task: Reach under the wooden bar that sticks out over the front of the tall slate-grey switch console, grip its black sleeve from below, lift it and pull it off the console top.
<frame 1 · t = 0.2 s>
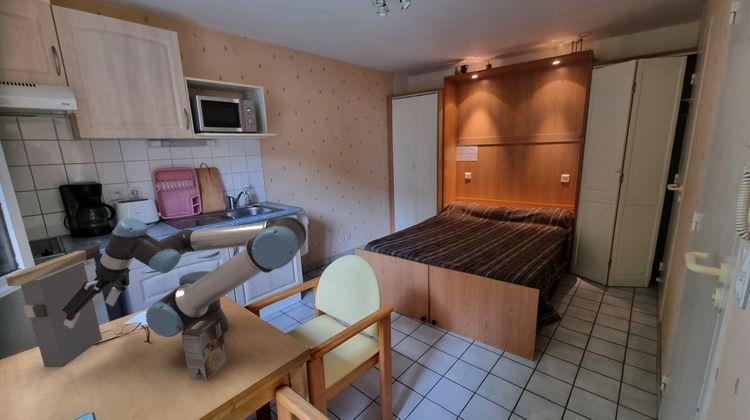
hand: (90, 314, 99), 15 cm above the table, tool tilted 35°, fingers open, 13 cm apart
coffee box: (209, 370, 95), on the table, touching arm
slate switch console: (75, 352, 104), on the table
wooden bar: (59, 267, 100), point 30 cm above the table, touching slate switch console
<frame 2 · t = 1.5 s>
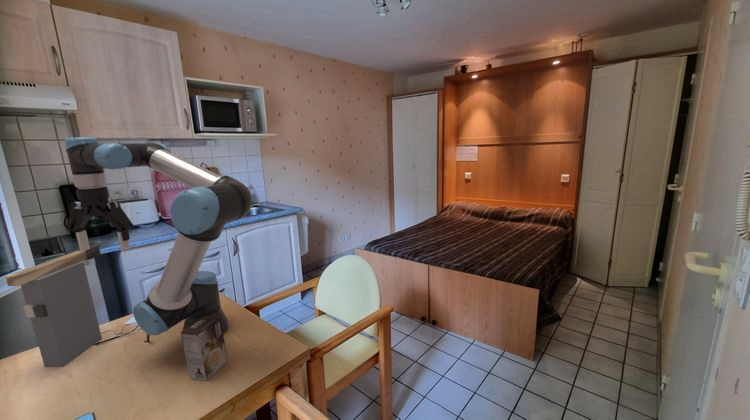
hand: (105, 250, 102), 35 cm above the table, tool pointing down, fingers open, 13 cm apart
coffee box: (209, 370, 95), on the table
everything else where it was.
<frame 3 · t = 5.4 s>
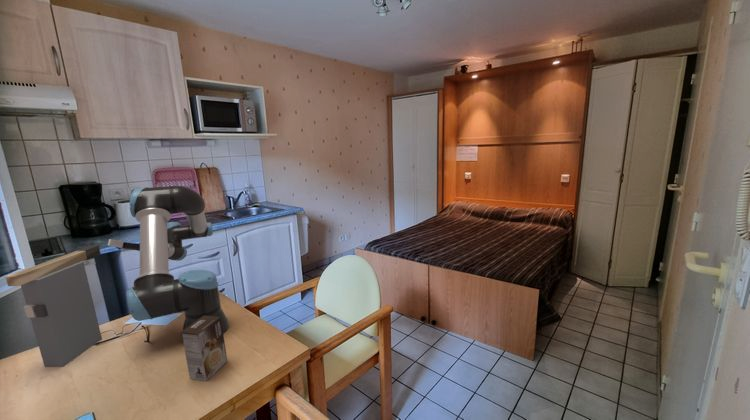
hand: (125, 241, 125), 30 cm above the table, tool pointing upward, fingers open, 13 cm apart
nothing on the table moved.
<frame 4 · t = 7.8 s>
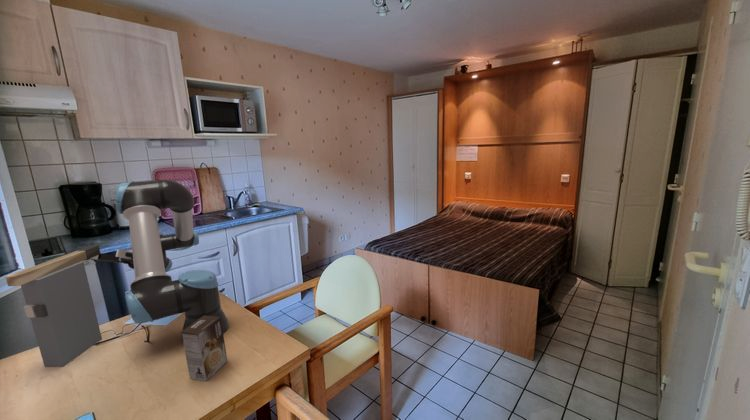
hand: (99, 253, 114), 30 cm above the table, tool pointing upward, fingers open, 13 cm apart
nothing on the table moved.
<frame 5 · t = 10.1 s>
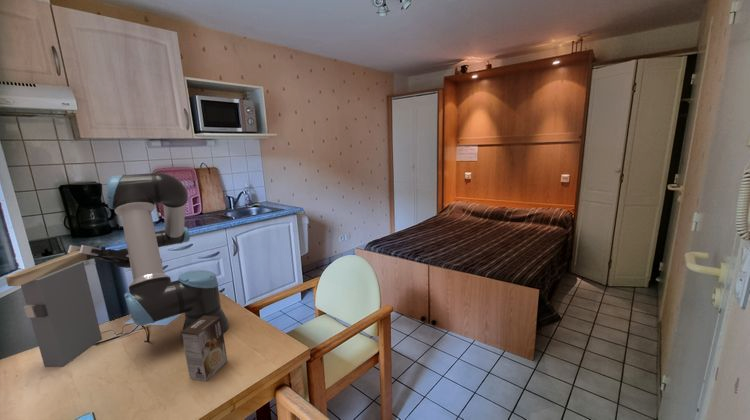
hand: (75, 249, 105), 34 cm above the table, tool pointing upward, fingers closed on wooden bar, 3 cm apart
wooden bar: (59, 267, 100), point 30 cm above the table, touching gripper, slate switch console
everything else where it was.
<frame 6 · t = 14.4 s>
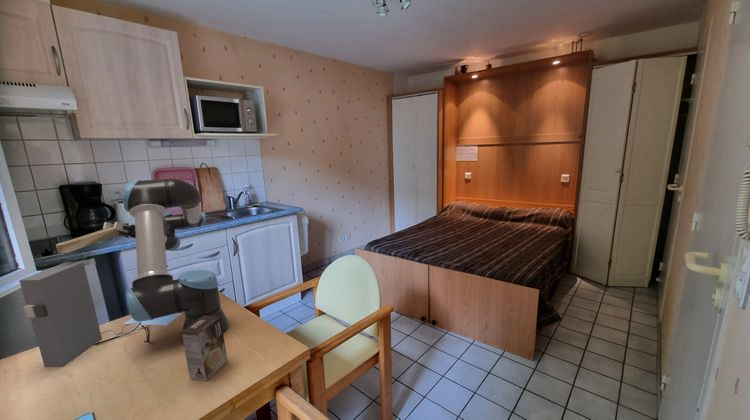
hand: (109, 225, 119), 39 cm above the table, tool pointing upward, fingers closed on wooden bar, 3 cm apart
wooden bar: (97, 240, 113), point 34 cm above the table, touching gripper
everything else where it was.
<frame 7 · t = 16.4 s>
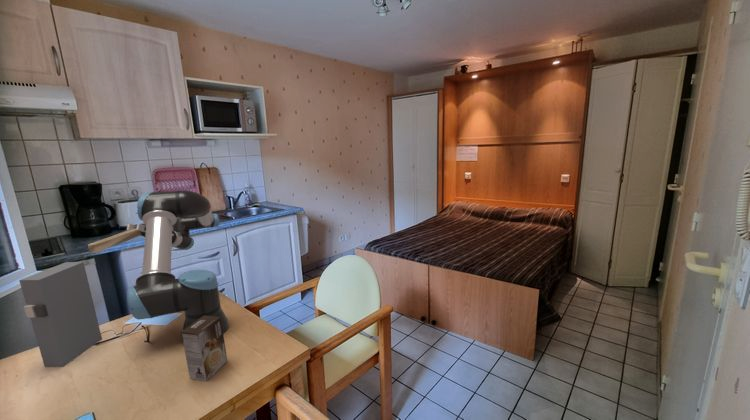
hand: (133, 226, 129), 35 cm above the table, tool pointing upward, fingers closed on wooden bar, 3 cm apart
wooden bar: (122, 240, 124), point 31 cm above the table, touching gripper
everything else where it was.
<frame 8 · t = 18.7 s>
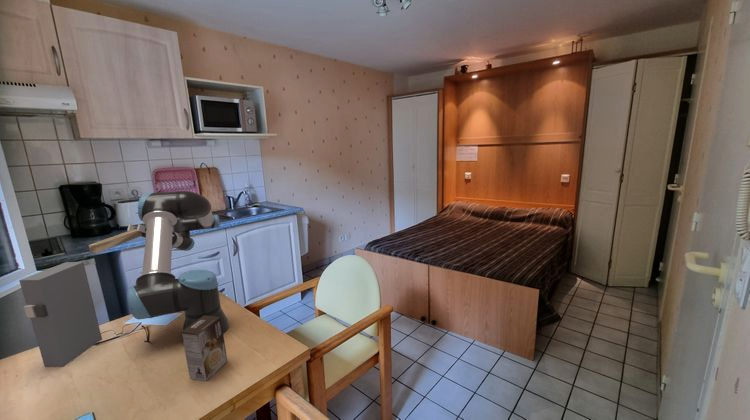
hand: (133, 227, 130), 35 cm above the table, tool pointing upward, fingers closed on wooden bar, 3 cm apart
wooden bar: (123, 241, 124), point 30 cm above the table, touching gripper
everything else where it was.
at the end: the gripper is holding wooden bar; wooden bar touching gripper; wooden bar moved 25.5 cm from its start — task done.
